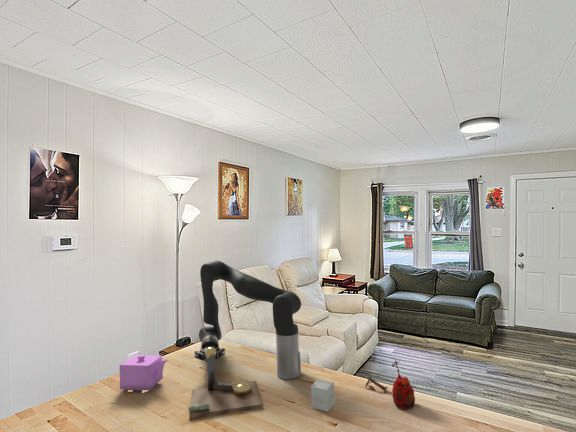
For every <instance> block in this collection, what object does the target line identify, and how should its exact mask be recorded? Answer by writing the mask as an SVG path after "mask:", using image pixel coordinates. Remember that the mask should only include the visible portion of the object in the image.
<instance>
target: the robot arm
mask: <svg viewBox="0 0 576 432" xmlns="http://www.w3.org/2000/svg"><path fill="white" fill-rule="evenodd" d="M199 275H200V282H201V283H200V284H201V291H202V298H203V299H202V300H203V314H202V315H203V316H202V317H203V319H202V321H203V323H204V324H207V325H210V326H204V327H201V328H200V330H199V332H198V338H199V342H200V343H201V344H200V345H201V346H200V349H199V350H198V351H197V350H195V351H194V358H195V359H197V360H199V361H202V362H204V361H205V362H206V364H207V357H206V355H205V351H206V349H207V348H209V347H214V348H215V349H216V355H215V360H218V359H220V358H222V357H223V356H225V355H226V348H224V347H223V348H220V344H219V343H220V342H219V341H220V340H221V338H222V330H221V327H220V323H219V310H220V308H219V303H218V300H217V298H216V296H215V294H214V290H213V289H214V288H213V286H214V282H216V281H218V280H220V281H221V280H222V281H225V282H227V283H229V284H231V286H232V288H233V289H234V290H235V292H236V293H237V294H239V295H241V296H243V297H244V298H246V299H247V298H248V299H250V300H254V301H259V302H260V301H261V302H266V303H267V302H268V303H270V304H272V318H273V326H274V329H275V338H276V339H275V340H276V341H275V343H276V345H275V346H276V372H277V374H276V375H277V378H279V379H282V380H295V379H297V378H299V377H302V370H301V369H302V368H301V367H302V366H301V365H302V364H301V363H302V361H301V352H300V349H299V348H300V347H299V346H300V345H299V326H298V324H297V323H295V322H294V318H293V317H294V316H293V315H294V314H296V313H298V312H299V311H300V309H301V307H302V301H301V299H300V297H299V295H297V294H296V293H294V292H292V291H289V290H286V289H282V288H279V287H276V286H273V285H271V284H270V283H267V282H265V281H263V280H261V279H258V278H257V277H254V276H252V275H250V274H247V273H244V272H242V271H240V270H237V269H236V268H234V267H231V266H230V265H228V264H226V263H225V262H223V261H220V260H213V261H209V262H205V263H203V264H202V265H201V267H200V272H199Z"/></svg>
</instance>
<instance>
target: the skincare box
mask: <svg viewBox="0 0 576 432" xmlns="http://www.w3.org/2000/svg"><path fill="white" fill-rule="evenodd" d="M334 384H335V383H334V382H333V381H328V380H325V379H324V380H323V379H316V381H315V382H313V384H311V386H310V394H311V397H310V398H311V408H312V409H315V410H320V411H324V412H327V413H328V412H329V411H330V410H331V409H332V408H333V406H334V405H335V403H336V402H335V385H334Z"/></svg>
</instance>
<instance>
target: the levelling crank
mask: <svg viewBox="0 0 576 432" xmlns="http://www.w3.org/2000/svg"><path fill="white" fill-rule="evenodd" d="M205 355H206V357H207V363H206V376H207V377H206V379H207V380H206V381H207V384H206V385H207V386H206V387H208V390H215V389H217V390H231V391H232V392H233V394H235V395H239V396H242V395H247V394H249V393H250V392H251V391H252V383H251V382H252V381H251V380H248V379H239V380H236V381H234V382H222V381H216V378H217V377H216V359H215V355H216V349H215V348H214V347H209V348H207V349H206V351H205Z"/></svg>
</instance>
